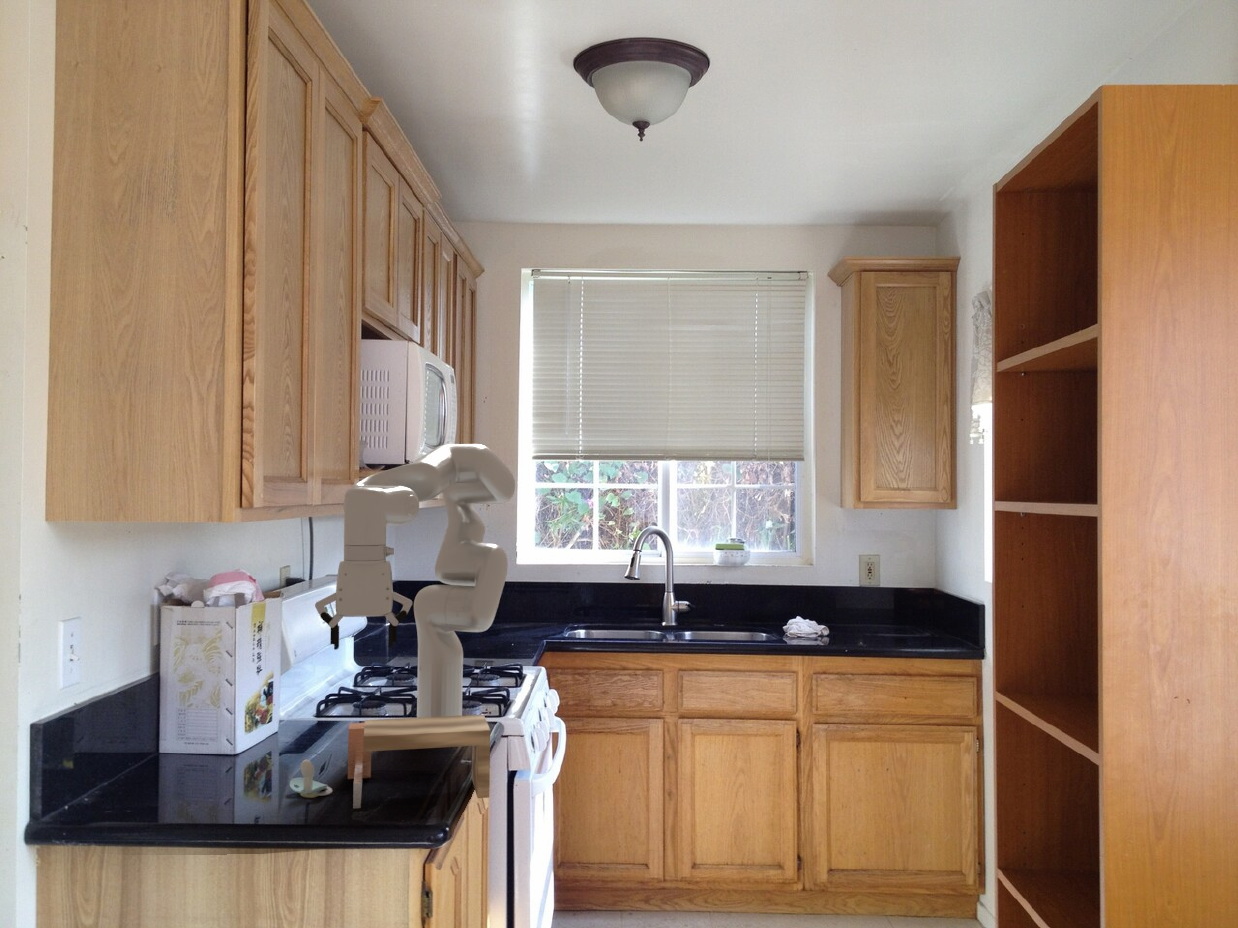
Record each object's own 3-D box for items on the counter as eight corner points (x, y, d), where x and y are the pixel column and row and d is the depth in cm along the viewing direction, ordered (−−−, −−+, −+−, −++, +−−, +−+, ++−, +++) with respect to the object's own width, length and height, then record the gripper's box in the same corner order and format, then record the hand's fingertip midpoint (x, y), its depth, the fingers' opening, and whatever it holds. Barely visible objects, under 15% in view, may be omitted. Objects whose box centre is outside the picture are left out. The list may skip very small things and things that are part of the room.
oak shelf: (363, 785, 169) (364, 720, 169) (482, 777, 174) (483, 714, 174) (362, 805, 158) (363, 736, 158) (489, 797, 163) (490, 730, 163)
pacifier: (313, 786, 168) (284, 794, 164) (315, 750, 169) (286, 757, 164) (340, 794, 164) (311, 803, 159) (342, 758, 165) (313, 765, 160)
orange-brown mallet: (348, 772, 176) (349, 723, 176) (370, 770, 177) (371, 722, 177) (344, 808, 156) (345, 753, 157) (369, 807, 157) (370, 752, 158)
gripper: (412, 552, 181) (411, 642, 181) (317, 553, 177) (316, 645, 177) (413, 555, 173) (412, 649, 173) (314, 556, 169) (312, 652, 169)
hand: (363, 647), depth 175 cm, fingers open, 9 cm apart
